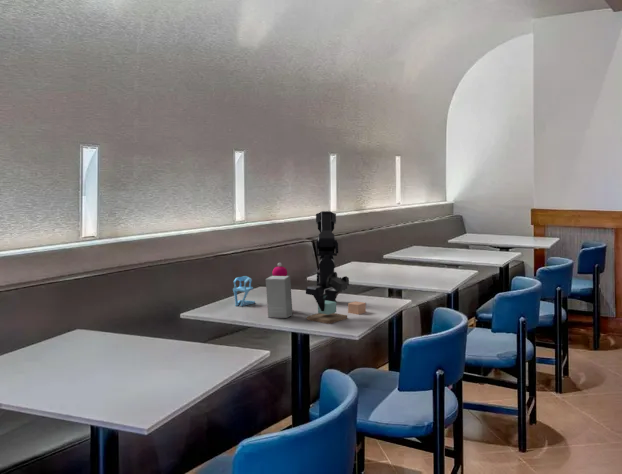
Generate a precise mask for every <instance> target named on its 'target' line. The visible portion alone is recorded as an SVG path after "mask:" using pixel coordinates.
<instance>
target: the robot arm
mask: <svg viewBox="0 0 622 474" xmlns="http://www.w3.org/2000/svg"><path fill="white" fill-rule="evenodd" d="M315 224H316V225H317V230H318V231H319V233H318V236H317V239H316V257H319V258H318V263H319V264H318V268H319V269H318V270H317V271H318V272H316V285H309V286H307V287H306V288H305V294H306V295H309V296H310V295H311V296H312V297H313V298H314V299H315V301H316V303H317V306H318V305H319V307H320V309H321V311H324V308H325V301H326V300H327V301H333V302H336V303H337V301H338V300H337V298H338V295H339V294H340V293H342V292H343V291H346V290H347V289H348V287H349V286H350V280H349V279H350V278H349V277H348V276H342V277H339V276H338V273H337V272H336V271H335V268H336V267H335V266H336V265H335V257H336V256H338V254H339V242H338V240H337V239H335V234H334V233H333V231H334V230H335V224H337V214H336V213H335V212H332V211H330V210H328V211H327V210H323V211H319V212H318V213H316V214H315Z"/></svg>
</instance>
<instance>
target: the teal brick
mask: <svg viewBox="0 0 622 474" xmlns="http://www.w3.org/2000/svg"><path fill="white" fill-rule="evenodd" d="M318 313H322V314H327V315H329V314H332V313H337V302H333V301H327V300H326V301H325V308H324V311H321V309H320V307H319V305H318V304H317V314H318Z"/></svg>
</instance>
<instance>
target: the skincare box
mask: <svg viewBox="0 0 622 474" xmlns="http://www.w3.org/2000/svg"><path fill="white" fill-rule="evenodd" d="M265 289H266V303H267V304H266V305H267V317H268V318H276V319H278V318H279V319H280V318H281V319H288V318H289V317H290V316H292V315H293V301H292V285H291V276H290V275H287V276H273V275H270V276H269V277H267V278H265Z"/></svg>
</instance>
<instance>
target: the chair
mask: <svg viewBox="0 0 622 474" xmlns="http://www.w3.org/2000/svg"><path fill="white" fill-rule="evenodd" d="M237 281H239V286H238V287H237V284H236V282H237ZM242 282H243V283H242ZM248 282H249V284H248V286H247V283H248ZM252 282H253V278H251V277H249V276H247V275H243V276H238V277H235V279H234V280H233V285H234V286H233V288H232V291H233V295H234V296H233V297H234V304H235V305H234V306H235V307H237V306H240V307H245V306H248V305H254V304H256V301H255V300H246V298H247V296H248V294H249V292H250V291H252V290H253V289H254V287H253V286H252ZM242 285H243V286H242ZM238 292H243V293H244V295H243V297H242V299H238Z"/></svg>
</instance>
